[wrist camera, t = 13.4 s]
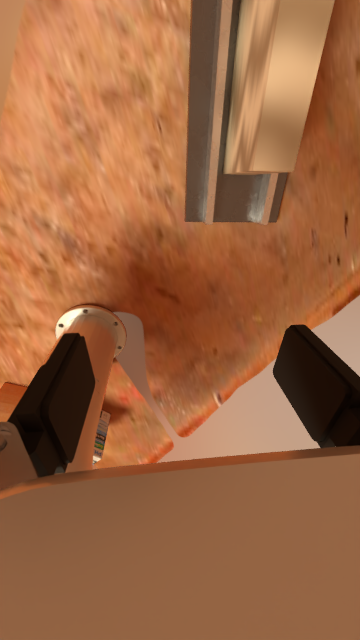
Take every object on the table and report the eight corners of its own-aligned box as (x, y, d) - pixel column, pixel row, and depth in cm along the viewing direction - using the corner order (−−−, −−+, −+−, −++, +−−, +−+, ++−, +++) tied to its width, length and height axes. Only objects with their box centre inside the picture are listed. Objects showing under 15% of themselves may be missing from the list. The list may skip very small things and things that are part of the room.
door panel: (251, 174, 31) (293, 171, 21) (222, 174, 30) (253, 170, 21) (281, -17, 22) (373, -161, 13) (242, -22, 22) (308, -173, 13)
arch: (35, 388, 49) (10, 431, 40) (22, 438, 58) (-1, 483, 49) (5, 381, 47) (-28, 425, 39) (-4, 434, 56) (-32, 480, 47)
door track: (273, 221, 35) (284, 224, 32) (184, 220, 34) (187, 224, 31) (346, -112, 20) (379, -162, 17) (195, -135, 19) (202, -194, 16)
